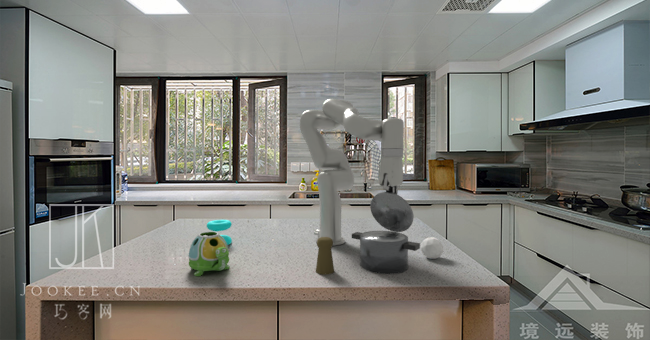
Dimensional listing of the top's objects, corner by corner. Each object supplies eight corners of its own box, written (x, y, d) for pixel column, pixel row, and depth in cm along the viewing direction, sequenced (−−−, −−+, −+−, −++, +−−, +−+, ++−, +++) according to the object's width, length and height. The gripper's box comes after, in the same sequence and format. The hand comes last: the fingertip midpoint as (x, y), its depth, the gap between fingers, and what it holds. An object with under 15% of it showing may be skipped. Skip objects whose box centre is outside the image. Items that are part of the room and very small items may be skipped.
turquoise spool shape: (201, 222, 127) (221, 218, 136) (201, 245, 128) (221, 240, 136) (217, 224, 122) (236, 220, 130) (217, 249, 122) (236, 243, 131)
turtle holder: (204, 285, 88) (203, 244, 87) (182, 268, 101) (182, 233, 101) (243, 274, 96) (243, 236, 96) (218, 260, 110) (218, 227, 109)
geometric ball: (427, 263, 114) (422, 243, 118) (448, 259, 110) (442, 238, 115) (420, 258, 108) (415, 237, 113) (442, 253, 105) (437, 231, 109)
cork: (332, 275, 95) (332, 240, 95) (313, 273, 96) (313, 239, 96) (335, 268, 101) (335, 235, 101) (317, 267, 102) (317, 234, 102)
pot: (341, 263, 106) (341, 235, 105) (366, 252, 118) (366, 227, 118) (406, 281, 90) (406, 248, 90) (426, 266, 103) (427, 237, 102)
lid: (366, 191, 109) (369, 188, 111) (375, 228, 115) (378, 224, 117) (408, 194, 99) (411, 191, 101) (415, 235, 105) (418, 230, 107)
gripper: (392, 154, 115) (391, 202, 116) (372, 153, 104) (371, 207, 105) (411, 154, 111) (410, 204, 112) (392, 153, 99) (391, 209, 100)
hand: (391, 205), depth 108 cm, fingers closed
